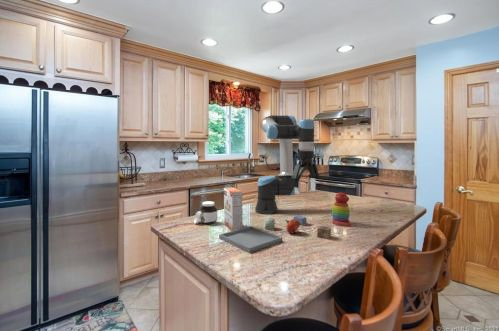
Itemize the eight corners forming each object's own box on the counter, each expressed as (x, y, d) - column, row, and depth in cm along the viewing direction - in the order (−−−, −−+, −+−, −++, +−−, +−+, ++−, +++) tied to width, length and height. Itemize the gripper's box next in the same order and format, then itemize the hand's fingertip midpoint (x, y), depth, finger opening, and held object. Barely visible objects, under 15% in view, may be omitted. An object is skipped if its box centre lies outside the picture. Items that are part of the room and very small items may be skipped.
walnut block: (317, 237, 127) (317, 228, 126) (320, 234, 131) (320, 225, 130) (327, 239, 124) (327, 230, 124) (330, 236, 128) (330, 227, 128)
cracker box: (223, 224, 147) (223, 187, 145) (233, 223, 149) (233, 186, 147) (231, 232, 134) (231, 191, 132) (242, 230, 136) (242, 190, 134)
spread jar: (219, 223, 150) (219, 202, 149) (203, 227, 141) (203, 206, 140) (206, 218, 158) (206, 199, 157) (190, 223, 150) (190, 202, 149)
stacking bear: (352, 227, 143) (353, 194, 141) (332, 225, 145) (333, 193, 143) (348, 221, 153) (349, 191, 152) (330, 220, 155) (331, 190, 154)
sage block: (263, 228, 140) (263, 219, 140) (269, 226, 143) (269, 217, 143) (269, 230, 136) (269, 221, 136) (276, 228, 140) (276, 219, 139)
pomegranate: (300, 235, 136) (285, 222, 139) (308, 226, 132) (293, 212, 135) (294, 241, 129) (279, 227, 132) (303, 232, 126) (287, 217, 129)
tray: (219, 238, 125) (219, 234, 125) (250, 229, 138) (250, 226, 138) (249, 253, 108) (249, 248, 108) (282, 241, 121) (282, 237, 121)
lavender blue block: (293, 223, 149) (293, 216, 149) (297, 222, 152) (297, 215, 152) (302, 225, 145) (302, 218, 145) (306, 224, 148) (306, 217, 147)
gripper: (297, 150, 121) (296, 196, 123) (326, 150, 138) (325, 190, 139) (284, 150, 126) (284, 194, 128) (313, 150, 143) (313, 188, 145)
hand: (305, 192), depth 134 cm, fingers open, 13 cm apart
